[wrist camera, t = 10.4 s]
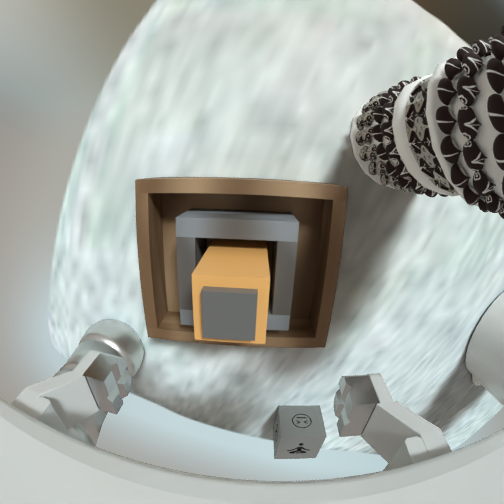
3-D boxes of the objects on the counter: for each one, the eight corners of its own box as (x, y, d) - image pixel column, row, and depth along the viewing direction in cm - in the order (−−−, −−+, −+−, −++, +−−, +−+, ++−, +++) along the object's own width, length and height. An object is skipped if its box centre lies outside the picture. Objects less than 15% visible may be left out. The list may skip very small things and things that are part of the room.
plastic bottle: (148, 368, 28) (79, 518, 9) (96, 349, 28) (8, 474, 9) (151, 323, 26) (55, 493, 7) (95, 303, 26) (-26, 432, 7)
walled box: (333, 183, 22) (354, 188, 17) (316, 323, 26) (328, 356, 21) (154, 177, 22) (127, 180, 17) (161, 315, 26) (143, 345, 21)
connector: (265, 237, 23) (270, 283, 14) (262, 282, 24) (265, 350, 15) (216, 234, 23) (189, 278, 14) (216, 280, 24) (192, 345, 15)
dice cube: (273, 428, 31) (274, 458, 26) (278, 405, 29) (280, 437, 25) (310, 428, 31) (315, 457, 26) (319, 405, 29) (326, 435, 25)
